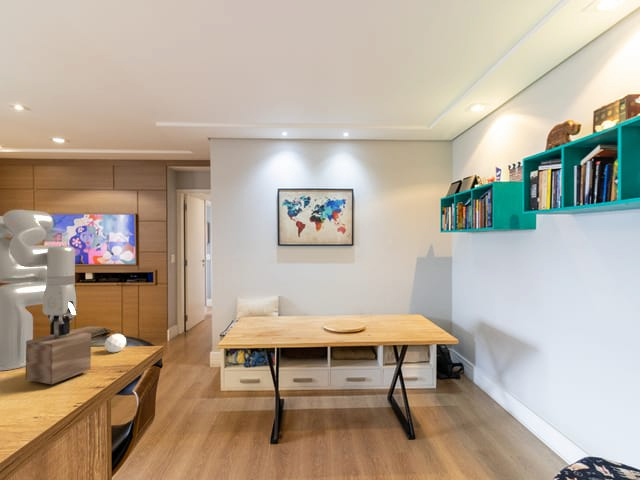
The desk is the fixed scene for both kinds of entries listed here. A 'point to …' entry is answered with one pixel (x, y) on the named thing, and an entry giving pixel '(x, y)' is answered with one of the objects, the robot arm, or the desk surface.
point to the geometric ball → (115, 343)
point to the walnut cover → (57, 356)
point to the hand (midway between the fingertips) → (60, 333)
